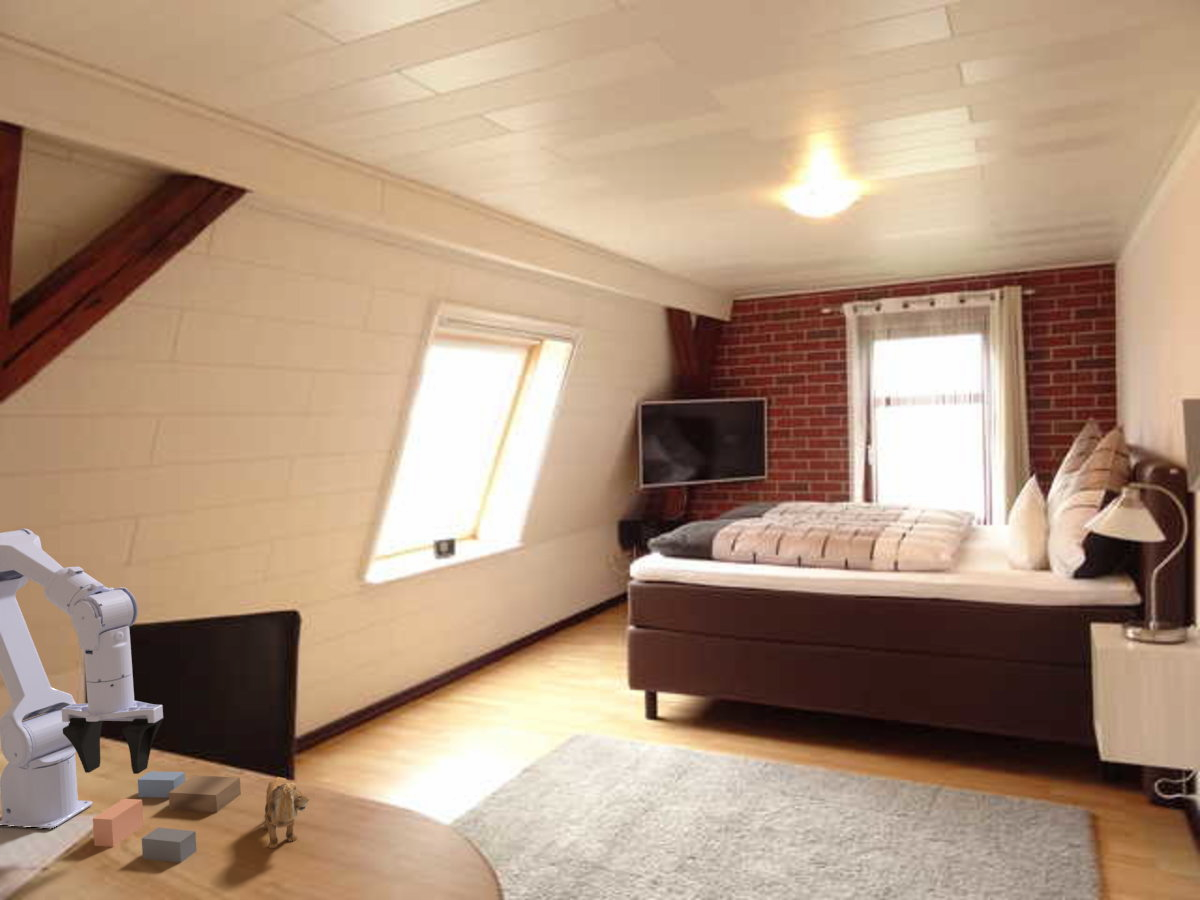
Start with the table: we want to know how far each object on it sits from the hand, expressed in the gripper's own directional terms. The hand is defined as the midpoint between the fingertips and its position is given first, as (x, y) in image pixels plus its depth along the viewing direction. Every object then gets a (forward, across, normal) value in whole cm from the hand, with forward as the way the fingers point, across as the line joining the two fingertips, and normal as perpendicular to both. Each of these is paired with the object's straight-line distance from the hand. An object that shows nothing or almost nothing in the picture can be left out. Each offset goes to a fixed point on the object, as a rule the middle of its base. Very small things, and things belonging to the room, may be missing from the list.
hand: (116, 770), depth 120 cm
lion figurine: (+10, +24, +3) cm, 26 cm away
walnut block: (+10, +6, +11) cm, 16 cm away
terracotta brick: (+10, 0, 0) cm, 10 cm away
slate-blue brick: (+10, -3, +13) cm, 17 cm away
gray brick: (+10, +11, -4) cm, 15 cm away
